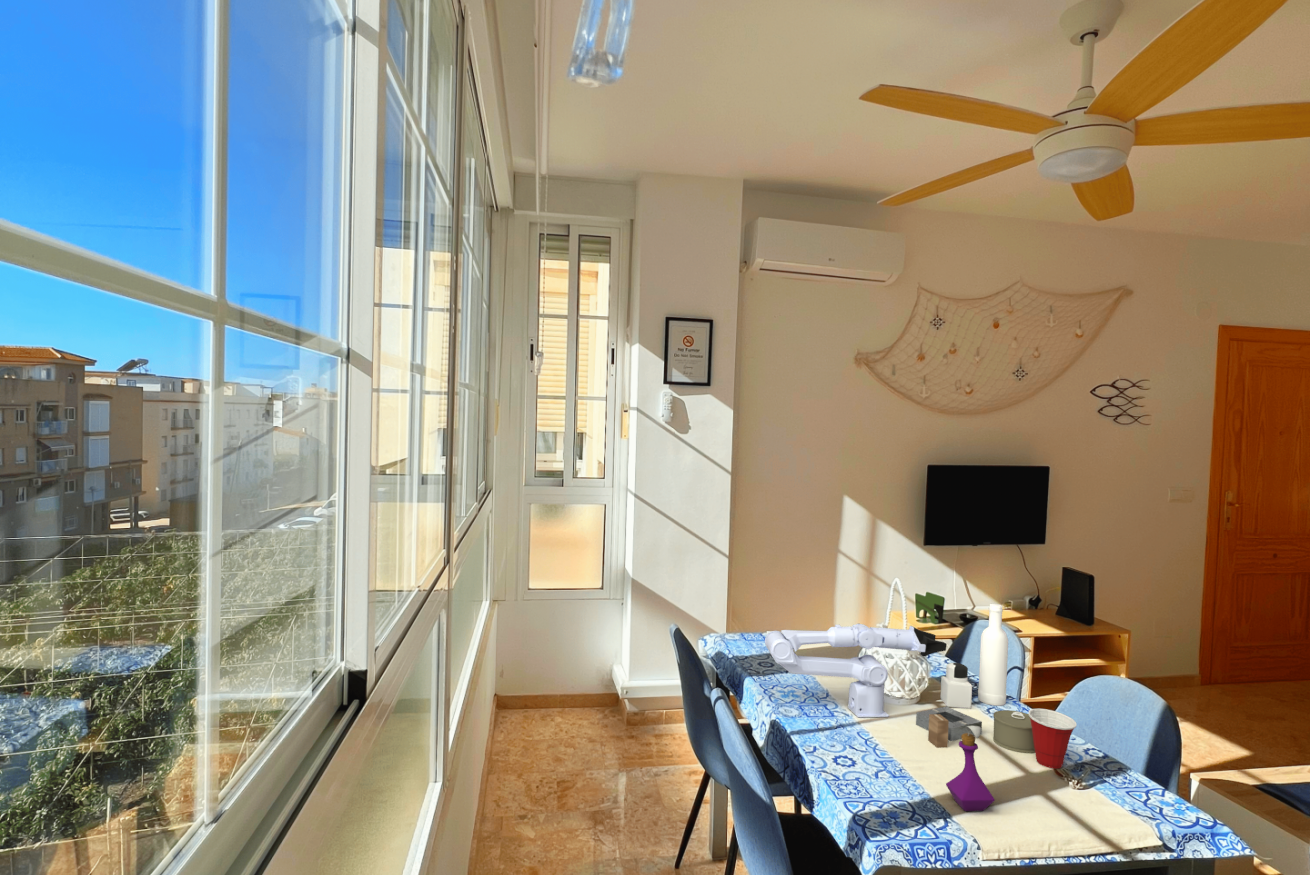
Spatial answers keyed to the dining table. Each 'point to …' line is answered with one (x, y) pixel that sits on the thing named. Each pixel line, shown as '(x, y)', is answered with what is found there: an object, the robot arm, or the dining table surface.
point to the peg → (938, 731)
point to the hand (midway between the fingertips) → (940, 642)
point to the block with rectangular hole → (955, 719)
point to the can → (1013, 731)
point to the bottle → (993, 660)
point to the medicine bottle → (956, 686)
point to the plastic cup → (1050, 736)
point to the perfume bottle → (970, 778)
